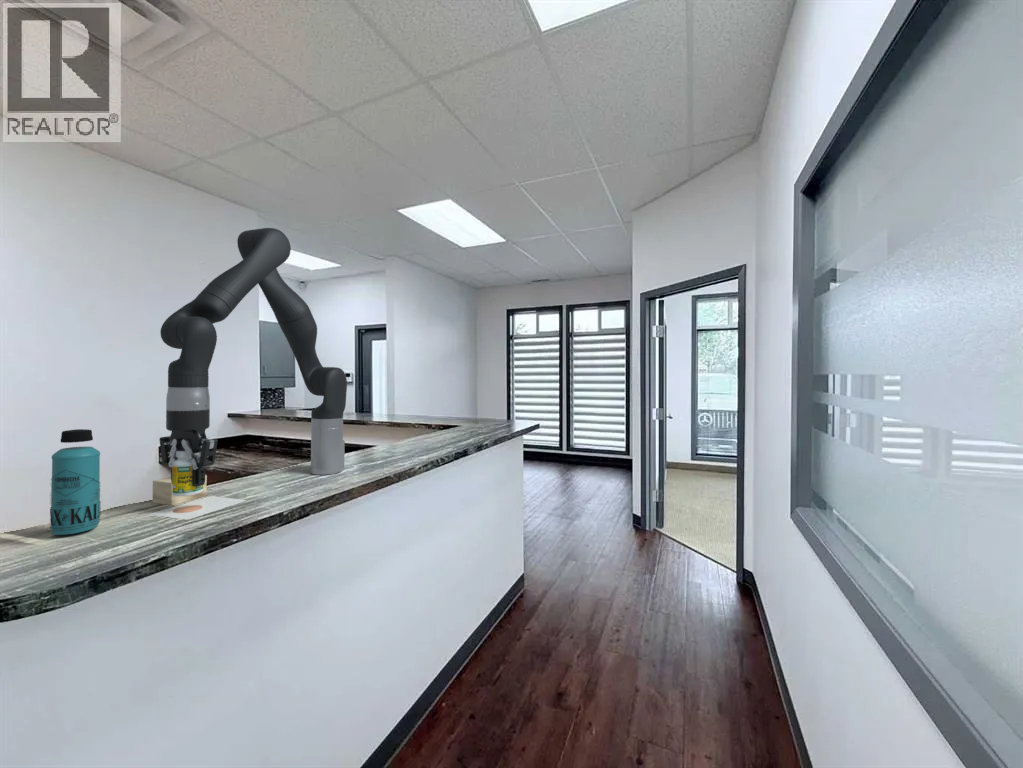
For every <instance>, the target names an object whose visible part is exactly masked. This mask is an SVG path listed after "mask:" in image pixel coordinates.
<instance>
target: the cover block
mask: <svg viewBox="0 0 1023 768" xmlns="http://www.w3.org/2000/svg"><path fill="white" fill-rule="evenodd" d="M207 478H208V476H207V474H205V483H204V485H203V491H202V492H201V493H198V494H195V495H190V496H174V495H173V493H172V481H171V476H169V477H165V478H164V477H163V478H159V479H154V480H152V503H155V504H161V505H166V506H167V505H168V506H173V505H178V504H180V503H185V502H188V501H189V502H190V501H192V500H196V499H201V498H202V497H203V498H204V497H206V496H207V495H208V493H207V490H208V489H207V488H208V487H207V486H208V485H207V482H208V479H207ZM207 497H208V496H207Z"/></svg>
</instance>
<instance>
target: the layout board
mask: <svg viewBox="0 0 1023 768" xmlns="http://www.w3.org/2000/svg"><path fill="white" fill-rule="evenodd" d="M247 501H248V499H247V500H246V499H240V498H232V497H231V498H230V497H221V496H214V495H210V496H207V497H206V496H205V497H203V498H198V499H197V500H196V499H195V500H193V501H192V500H191V501H189V502H186V503H185V502H184V504H183V503H182V504H179V505H178V504H177V505H176V506H172V507H169V508H165V509H161V510H159V511H154V512H151V513H148V515H149V516H157V517H163V518H164V517H165V518H171V519H180V520H186V521H188V520H191V519H194V518H198V517H201V516H204V515H207V514H210V513H213V512H217V511H219V510H222V509H224V508H227V507H231V506H235V505H237V504H240V503H243V502H247Z"/></svg>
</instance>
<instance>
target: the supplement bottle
mask: <svg viewBox="0 0 1023 768" xmlns="http://www.w3.org/2000/svg"><path fill="white" fill-rule="evenodd" d="M196 454H200V452H198V453H194V455H196ZM176 457H177V458H178V459H177V460H175V461H174V462H173V464H172V493H173V495H174V496H190V495H195V494H198V493H201V492H202V491H203V485H201V486H197V487H195V486H193V485H192V470H194V469H193V467H192V464H191V461H190V460H188V459H187V455H186V452H185V451H179V450H178V451H176ZM197 461H198V463H199V461H200V459H197Z"/></svg>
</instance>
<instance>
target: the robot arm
mask: <svg viewBox="0 0 1023 768" xmlns="http://www.w3.org/2000/svg"><path fill="white" fill-rule="evenodd" d="M236 241H237V242H236V243H237V248H238V249H237V250H238V251H239V254H240V256H241V258H242V260H241V261H239V262H238V263H236V264H235V265H234V266H232V267H230V268H228V269H227V270H225V271H224V272H222V273H221V274H219V275H218V276H216V277H215V278H214V279H212V280H211V281H210V282H209V283H208V284H207V285H206V286H205V287H204V288H203V289H202V291H200V293H199V294H197V296H196V297H195V298H194V299H193V300H191V301H189V302H188V303H186V304H185V305H183V306H182V307H181V308H179V309H178V310H176V311H174V312H173V313H172V314H171V315H169V316H167V318H166V319H165V320H164V322H163V323H162V325H161V327H160V331H159V332H160V338H161V340H162V341H163V343H164V344H165V345H167V346H168V347H170V348H172V349H177V350H181V351H180V356H179V358H178V359H176V360H173V361H171V362H170V363H169V365H168V369H167V393H166V397H165V398H166V400H165V403H166V405H165V406H166V408H165V409H166V410H165V411H166V412H165V419H166V421H165V424H166V425H165V428H166V430H167V431H169V432H170V433H171V434H170V435H167V436H161V437H159V447H160V453H161V460H162V464H164V465H168V467H169V468H170V477H171V481H172V464H173V462H174V461H175V460H177V459H178V458H177V457H176V451H178V450H179V451H185V452H186V455H187V459H188V460H190V461H191V464H192V467H193V469H194V470H192V485H193V486H195V487H197V486H201V485H204V483H205V475H206V468H208V467H210V466H213V465H214V464H215V458H216V454H217V447H218V441H219V440H218V439H217V438H208V437H207V435H206V430H207V429H209V428H210V425H211V423H210V421H211V420H210V417H211V416H210V415H211V414H210V409H211V407H210V406H211V403H210V402H211V401H210V400H211V399H210V391H209V390H210V389H209V381H210V380H209V369H210V365H211V362H212V360H213V357H214V354H215V353H214V352H215V349H216V347H217V341H218V334H217V330H216V327H215V325H214V324H216V323H220V322H223V321H224V320H226V319H227V318H228V317H229V315H230V314H231V313H232V312H233V311H235V310H234V309H235V308H237V306H238V305H239V304H240V303H241V301H242V300H244V298H245V297H246V296H247V295H248V294H249V293H250V292H251V291H252V290H253V289H254V288H255V287H256V286H257V285H259V287H260V289H261V291H262V293H263V295H264V297H265V299H266V300H267V303H268V305H269V306H270V308H271V310H272V312H273V314H274V316H275V319H276V321H277V324H278V326H279V327H280V329H281V332H282V333H283V334H284V337H285V339H286V341H287V342H288V345H289V347H290V350H291V351H292V353H293V356H294V358H295V360H296V362H297V365H298V368H299V370H300V374H301V376H302V379H303V382H304V384H305V387H306V389H307V390H308V391H309V393H311V394H312V395H314V396H317V397H323V399H322V402H321V404H320V405H318V406H316V407H314V408H313V409H311V415H310V416H311V417H310V418H311V421H310V422H311V424H310V425H311V428H310V433H311V434H310V439H311V440H310V473H311V474H312V475H320V476H321V475H322V476H324V475H325V476H326V475H333V474H339V473H341V472H343V470H345V448H346V447H345V446H346V445H345V439H344V412H345V409H346V404H347V403H346V402H347V388H348V381H347V379H348V378H347V375H346V373H345V371H344V370H343V369H342V368H340V367H335V366H334V367H333V366H323V365H322V364H321V362H320V360H319V357H318V355H317V351H316V344H317V338H318V326H317V323H316V320H315V317H314V316H313V313H312V311H311V308H310V307H309V305H308V304H307V303H306V301H305V300H304V299H303V298H302V297H301V296H300V295H299V294H298V293H297V292H295V290H293V289H292V288H291V287H290V286H289V285H288V284H287V283H286V282H285V280H284V279H283V278H282V276H281V275H280V273H279V270H278V268H279V267H280V266H281V265H283V264H284V263H285V262H286V261H287V260H288V259H289V257H290V255H291V251H292V248H291V247H292V246H291V242H290V240H289V238H288V237H287V235H286V234H285V233H284V232H283V231H281V230H280V229H277V228H273V227H264V228H263V227H262V228H256V229H248V230H244V231H242V232H241V233H240V234H239V235H238V237H237V239H236ZM198 452H199V454H196V455H194V453H198ZM197 459H200V461H199V463H198V461H197ZM207 459H208V460H207ZM338 472H339V473H338Z"/></svg>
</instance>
